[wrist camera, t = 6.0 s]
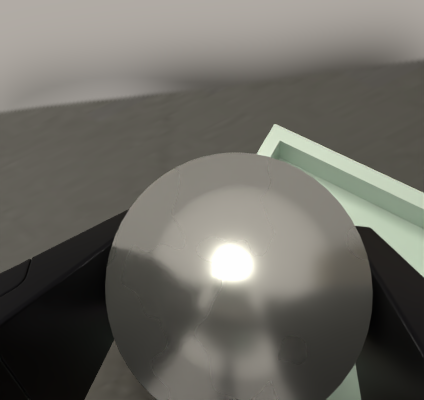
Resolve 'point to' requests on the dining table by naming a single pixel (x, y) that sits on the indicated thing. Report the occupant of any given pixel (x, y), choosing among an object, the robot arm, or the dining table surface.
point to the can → (238, 283)
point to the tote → (357, 205)
